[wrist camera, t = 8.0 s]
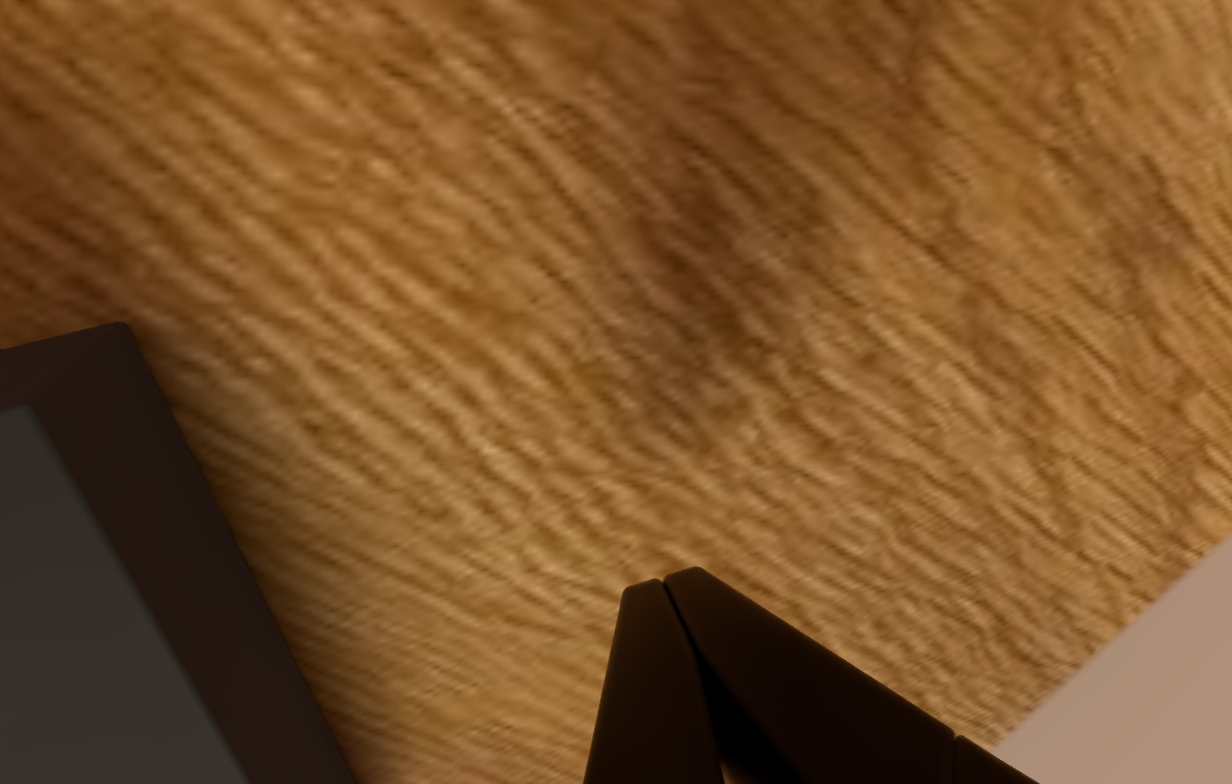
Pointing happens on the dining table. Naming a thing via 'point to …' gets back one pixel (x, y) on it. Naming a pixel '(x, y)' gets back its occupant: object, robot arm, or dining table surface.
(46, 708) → the dark grey tabbed block
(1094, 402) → the dining table surface
